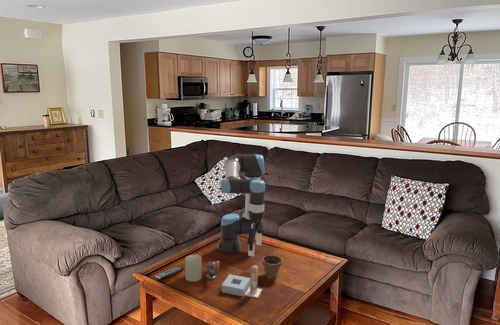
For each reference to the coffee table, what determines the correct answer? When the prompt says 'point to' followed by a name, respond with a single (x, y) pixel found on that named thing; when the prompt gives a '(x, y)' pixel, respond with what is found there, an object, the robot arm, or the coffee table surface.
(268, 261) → the flower pot
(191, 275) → the can
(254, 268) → the dowel
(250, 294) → the mat
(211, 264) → the chrome ball lever
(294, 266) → the coffee table surface
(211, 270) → the crank post
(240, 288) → the block
